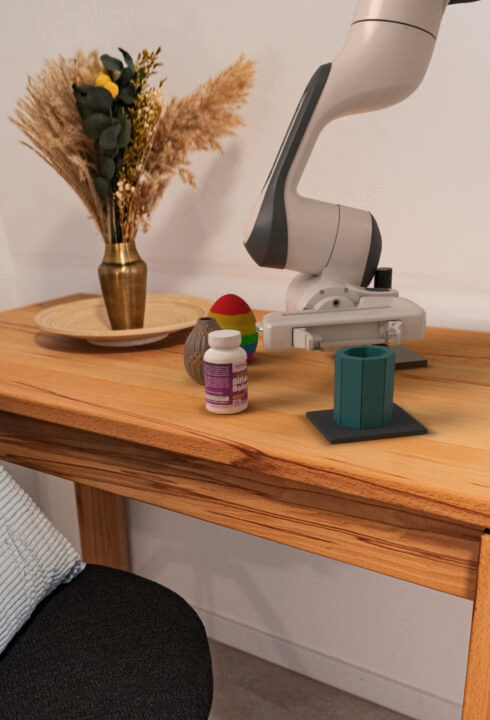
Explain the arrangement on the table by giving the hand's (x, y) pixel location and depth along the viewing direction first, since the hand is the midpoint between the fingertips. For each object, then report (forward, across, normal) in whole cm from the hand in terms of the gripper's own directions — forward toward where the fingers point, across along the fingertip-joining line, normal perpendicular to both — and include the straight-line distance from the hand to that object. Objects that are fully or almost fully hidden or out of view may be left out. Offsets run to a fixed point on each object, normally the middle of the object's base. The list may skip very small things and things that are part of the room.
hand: (354, 341), depth 99 cm
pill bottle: (-4, -15, +8) cm, 18 cm away
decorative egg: (-26, -12, +8) cm, 30 cm away
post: (-20, +8, +8) cm, 23 cm away
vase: (-16, -16, +8) cm, 25 cm away
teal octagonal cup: (+6, 0, +8) cm, 10 cm away
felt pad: (+6, 0, +8) cm, 10 cm away
